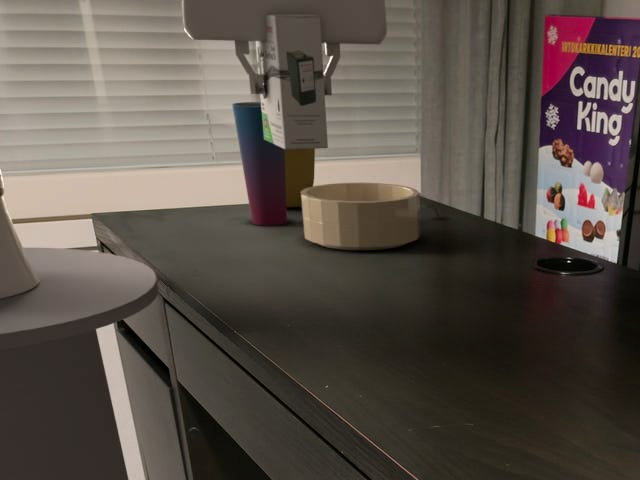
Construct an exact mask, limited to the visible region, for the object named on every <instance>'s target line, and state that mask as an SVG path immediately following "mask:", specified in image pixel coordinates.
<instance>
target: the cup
mask: <svg viewBox="0 0 640 480" xmlns="http://www.w3.org/2000/svg"><path fill="white" fill-rule="evenodd" d="M231 105H232V112H233V117H234V123H235V130H236V135H237V141H238V146H239V152H240V158H241V159H240V160H241V164H242V171H243V176H244V182H245V189H246V193H247V201H248V205H249V206H248V207H249V212H250V217H251V222H252V224H253V225H257V226H269V227H270V226H281V225H285V224H287V223H288V210H287V208H288V207H287V206H286V178H285V150H284V149H283V148H281V147H279V146H277V145H275V144H273V143H270V142H268V141H266V140H264V134H263V121H262V110H261V101H244V102H243V101H242V102H234V103H232V104H231Z"/></svg>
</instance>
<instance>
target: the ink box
mask: <svg viewBox="0 0 640 480" xmlns="http://www.w3.org/2000/svg"><path fill="white" fill-rule="evenodd" d="M266 29H267V41H266V42H263V41H255V52H256V61H257V74H263V78H264V83H263V85H264V89H265V94H259V96H260V102H261V110H262V121H263V134H264V140H266V141H268V142H270V143H273V144H275V145H277V146H279V147H281V148H283V149H286V150H288V149H315V150H318V149H328V148H329V143H328V127H327V109H326V95H325V92H324V76H323V75H324V60H323V43H322V40H321V22H320V17H319V15H315V14H283V15H266Z"/></svg>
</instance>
